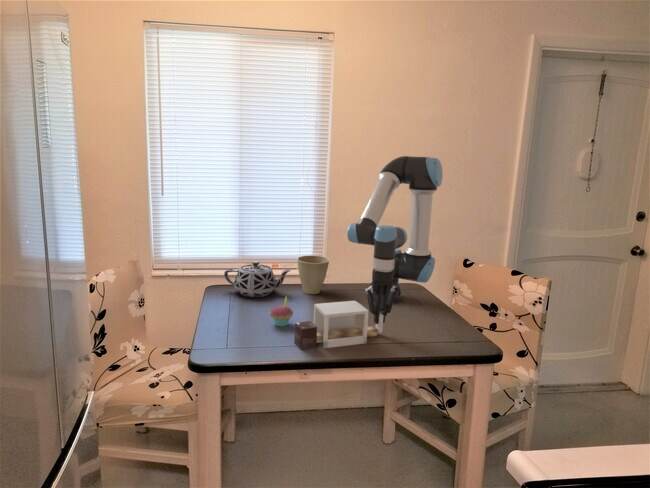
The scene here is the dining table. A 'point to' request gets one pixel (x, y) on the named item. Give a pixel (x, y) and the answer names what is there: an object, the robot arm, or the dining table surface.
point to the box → (305, 335)
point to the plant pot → (312, 272)
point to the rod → (347, 333)
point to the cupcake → (281, 314)
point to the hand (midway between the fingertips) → (378, 331)
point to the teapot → (255, 280)
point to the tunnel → (339, 321)
